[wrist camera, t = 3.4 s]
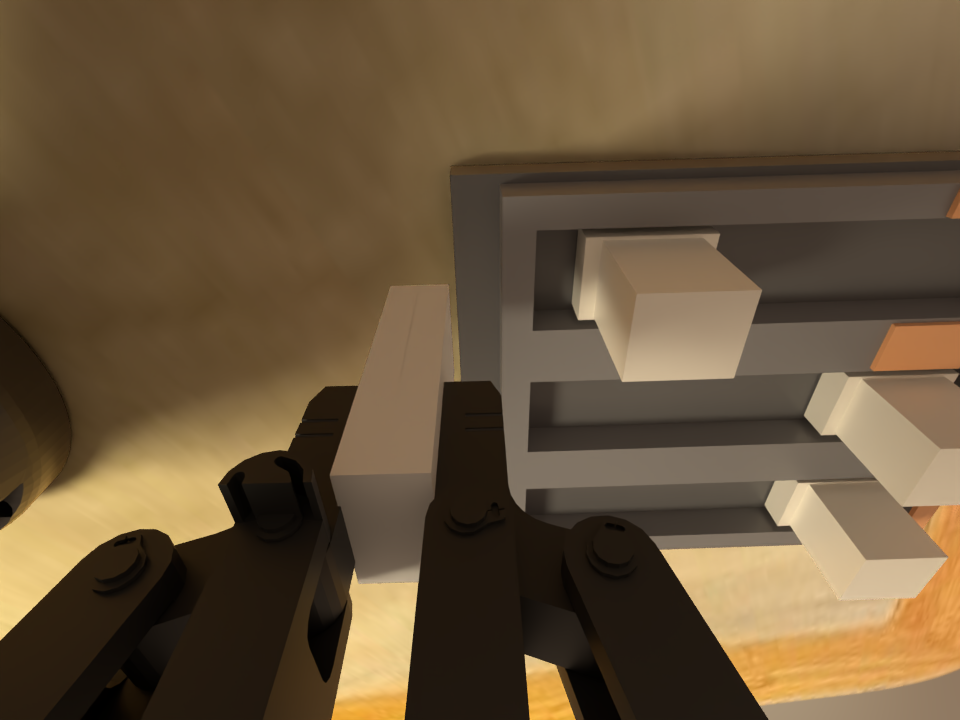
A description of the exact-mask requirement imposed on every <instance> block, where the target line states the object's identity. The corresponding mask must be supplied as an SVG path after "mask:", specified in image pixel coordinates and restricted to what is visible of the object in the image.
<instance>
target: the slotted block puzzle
mask: <svg viewBox="0 0 960 720" xmlns="http://www.w3.org/2000/svg"><path fill="white" fill-rule="evenodd" d="M450 185H451V203H452V221H453V239H454V257H455V276H456V294H457V312H458V330H459V348H460V367H461V381H491V382H492V383H493V385H494V386H495V387H496V389H497V390H498V391H499V393H500V394H501V397H502V410H503V422H504V435H505V447H506V460H507V473H508V485H509V489H510V493H511V496H512V497H513V499H514V501H515V502H516V504H517V505H518V506H519V507H520V508H521V509H522V510H523V511H524V512H525V513H527V514H529V515H530V516H532V517H533V518H535V519H538V520H540V521H543V522H546V523H549V524H552V525H556V526H560V527H564V528H568V529H572V528H573V526H574V525H575V524H576V523H577V522H579V521H582V520H584V519H586V518H589V517H591V516H605V515H609V516H613V517H617V518H621V519H625V520H627V521H629V522H631V523H633V524H634V525H636V526H638V527H639V528H641V529H643V530H644V532H645V533H646V534H647V535H648V536H649V537H650V538H651V539H652V540H653V541H654V543H655V544H656V545H657V547H658V549H659V550H660V549H690V548H720V547H750V546H779V545H802V543H801V541H800V540H799V538H798V537H797V535H796V534H795V532H794V531H793V529H792V528H791V526H777V524H776V523H775V521H774V519H773V518H772V516H771V515H770V513H769V511H768V510H767V508H766V507H765V502H766V500H767V498H768V496H769V493H770V491H771V489H772V486H773V484H774V482H775V481H785V480H815V479H846V478H875V477H874V476H873V474H872V473H871V472H870V471H869V470H868V469H867V468H866V467H865V466H864V465H863V463H862V462H861V461H860V460H859V459H858V458H857V457H856V456H855V455H854V454H853V452H852V451H851V450H850V449H849V448H848V447H847V446H846V445H845V444H844V443H843V441H842V440H841V439H840V438H839V437H838V436H837V435H820V433H819V432H818V431H817V430H816V429H815V428H814V427H813V425H812V424H811V423H810V422H809V421H808V420H807V419H806V417H805V416H804V414H805V411H806V409H807V407H808V405H809V402H810V400H811V398H812V396H813V393H814V391H815V389H816V386H817V384H818V382H819V380H820V377H821V375H822V373H836V372H868V371H899V370H931V369H953V370H955V371H956V372H958V373H959V375H958V377H957V378H956V380H955V381H954V384H955V385H957V386H958V387H960V151H942V152H908V153H875V154H841V155H807V156H773V157H740V158H706V159H672V160H638V161H604V162H571V163H537V164H503V165H469V166H451V171H450ZM703 225H710V226H711V227H713V228H714V229H715V230H716V231H718V232H719V233H720V236H719V240H718V244H717V248H716V250H717V251H719V252H720V253H721V254H722V255H723V256H724V257H725V258H727V259H728V260H729V261H730V262H731V263H732V264H733V265H734V266H736V267H737V268H738V269H739V270H740V271H741V272H742V273H743V274H745V275H746V276H747V277H748V278H749V279H750V280H751V281H753V282H754V283H755V284H756V285H757V286H758V287H759V288H760V289H762V292H761V295H760V299H759V302H758V305H757V308H756V311H755V314H754V317H753V320H752V324H751V327H750V330H749V333H748V336H747V339H746V342H745V345H744V348H743V352H742V355H741V358H740V361H739V364H738V367H737V370H736V373H735V376H734V378H730V379H699V380H667V381H636V382H622V381H621V378H620V376H619V374H618V371H617V369H616V367H615V365H614V362H613V360H612V358H611V356H610V353H609V351H608V349H607V346H606V344H605V342H604V340H603V337H602V335H601V333H600V331H599V328H598V326H597V324H596V321H595V320H578V319H577V316H576V313H575V311H574V308H573V306H572V294H573V283H574V271H575V260H576V249H577V237H578V229H604V228H637V227H670V226H703ZM938 507H939V506H910V507H903V508H904V509H905V510H906V511H907V513H908V514H909V515H910V516H911V517H912V518H913V519H914V520H915V521H916V522H917V523H918V525H919V526H920V527H921V528H922V529H923V528H924V527H925V525H926V524H927V522H928V521H929V520H930V518H931V517H932V516H933V514H934V513H935V512H936V510H937V509H938Z"/></svg>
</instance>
